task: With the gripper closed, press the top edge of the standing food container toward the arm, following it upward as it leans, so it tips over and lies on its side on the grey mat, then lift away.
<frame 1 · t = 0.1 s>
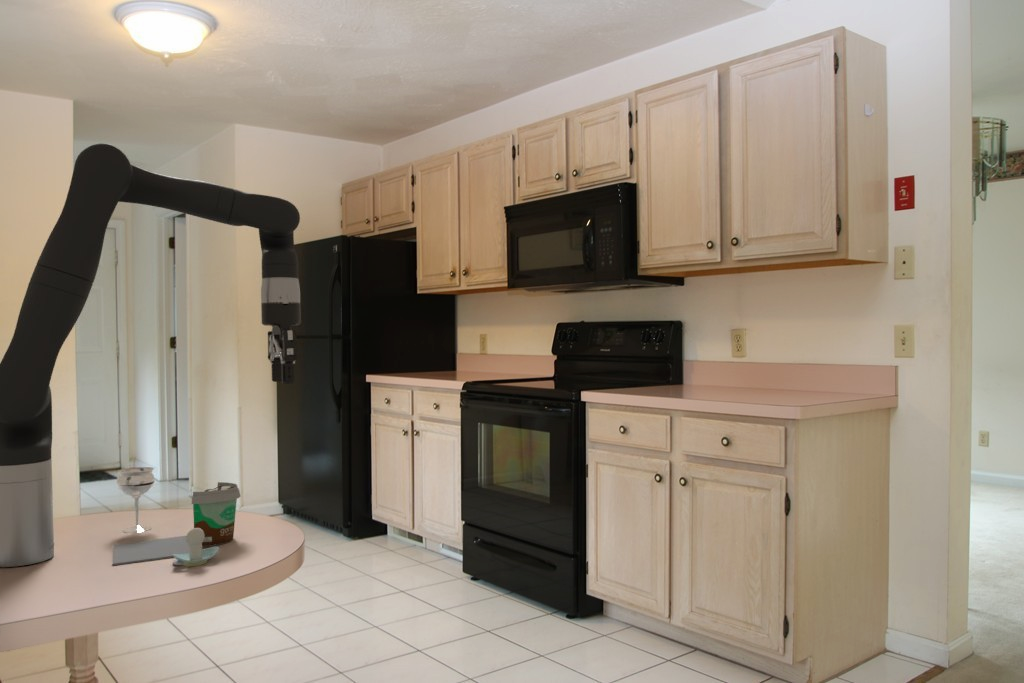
hand: (282, 382, 155), 29 cm above the table, tool pointing down, fingers open, 8 cm apart
wineglass: (137, 530, 156), on the table
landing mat: (156, 549, 140), on the table
food container: (221, 541, 145), on the table, touching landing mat
pacifier: (194, 564, 131), on the table
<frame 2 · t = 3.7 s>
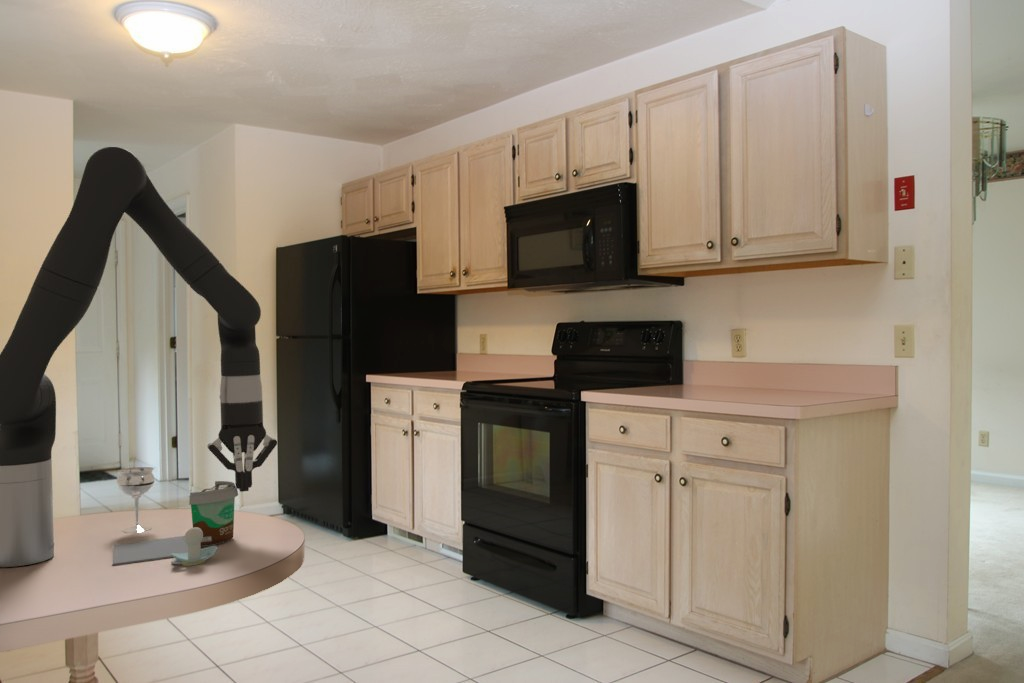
hand: (244, 490, 147), 9 cm above the table, tool pointing down, fingers closed
food container: (221, 540, 145), on the table, touching gripper, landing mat
everything else where it was.
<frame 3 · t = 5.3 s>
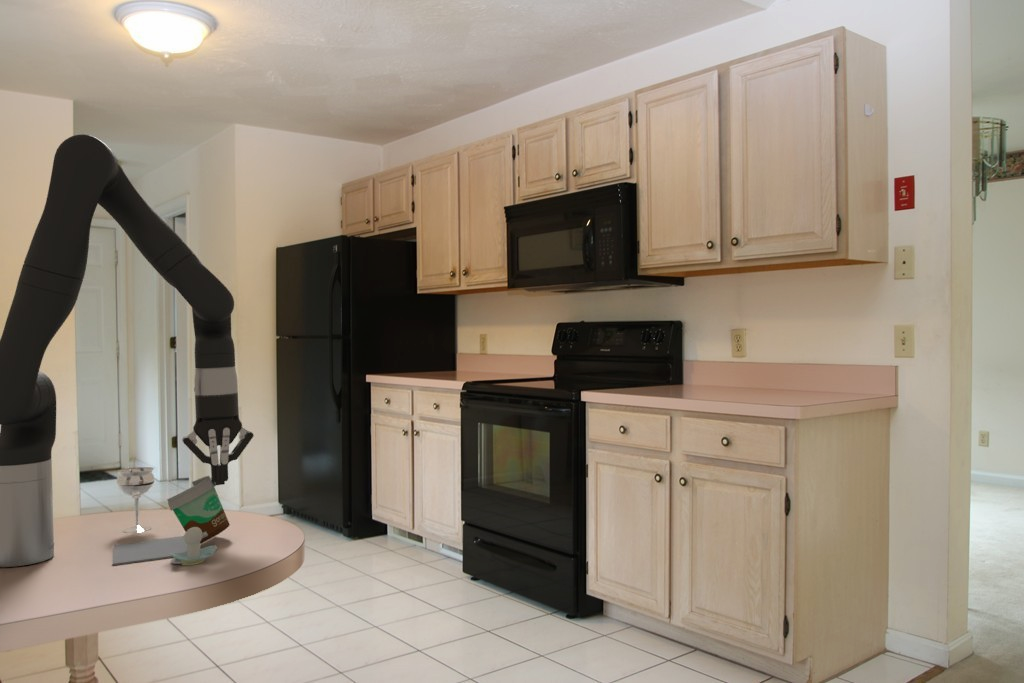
hand: (220, 484, 145), 11 cm above the table, tool pointing down, fingers closed
food container: (219, 532, 145), point 2 cm above the table, touching gripper, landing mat
everything else where it was.
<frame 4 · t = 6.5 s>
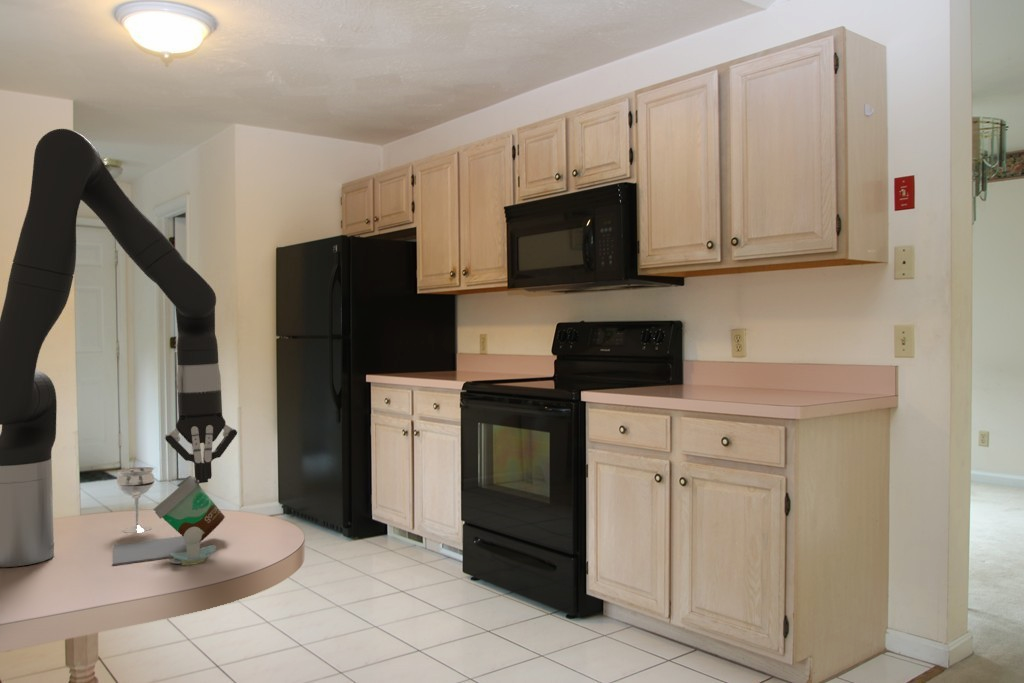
hand: (203, 481, 144), 11 cm above the table, tool pointing down, fingers closed
food container: (216, 526, 145), point 3 cm above the table, touching gripper, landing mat
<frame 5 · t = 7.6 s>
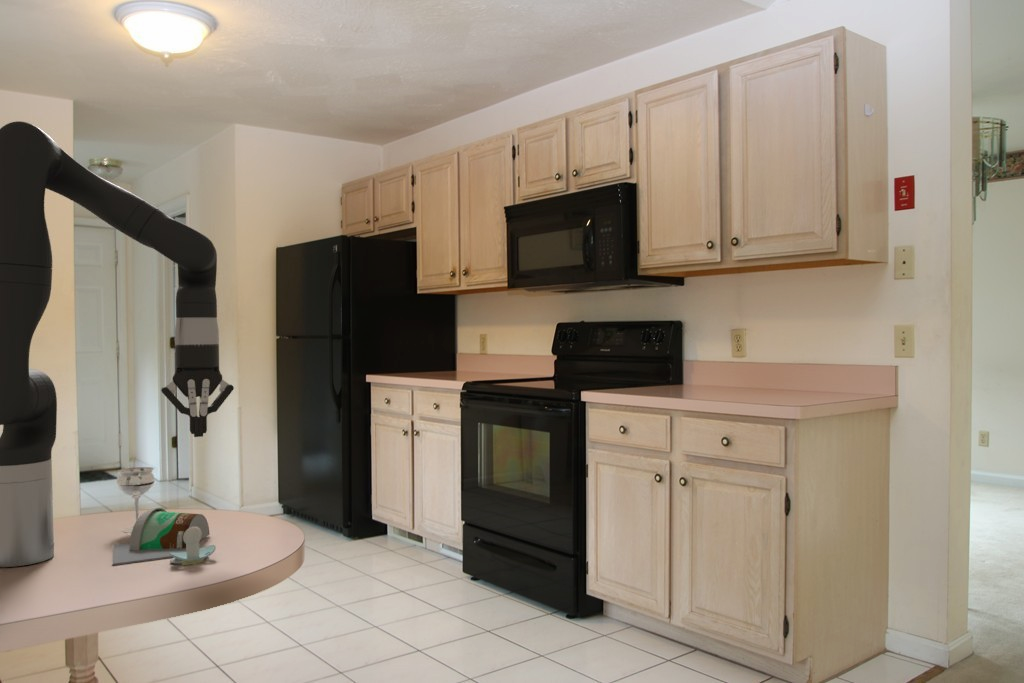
hand: (198, 436, 143), 20 cm above the table, tool pointing down, fingers closed
food container: (198, 524, 144), point 3 cm above the table, touching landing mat
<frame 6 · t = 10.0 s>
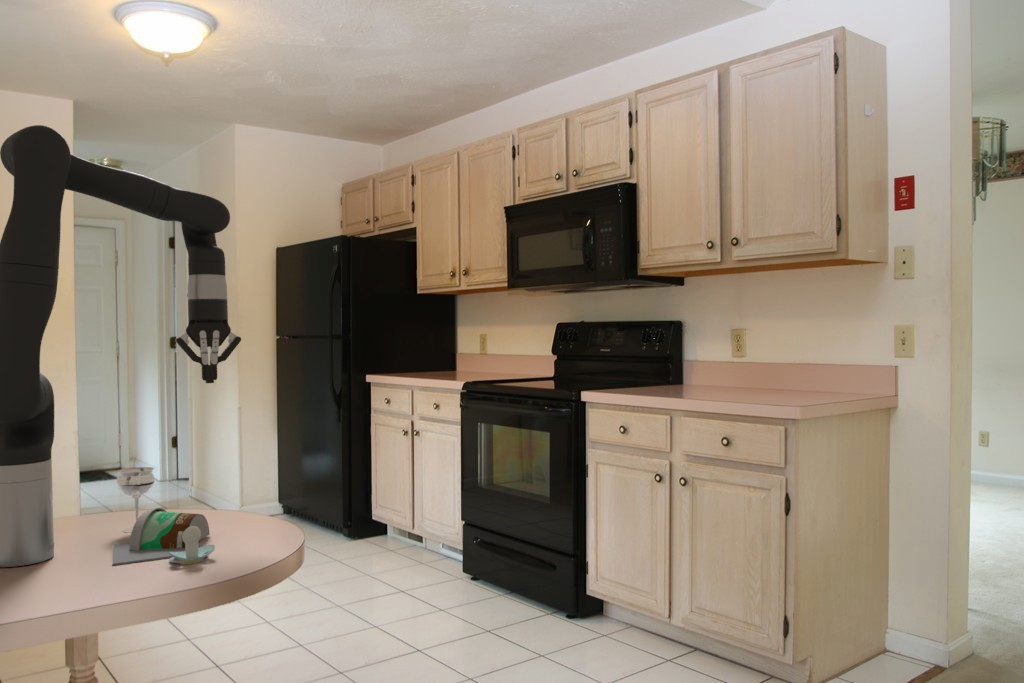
hand: (209, 382, 158), 29 cm above the table, tool pointing down, fingers closed
at the end: food container tilted 90°; food container inside the target area (3.4 cm from its centre), point 3.4 cm above the table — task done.
